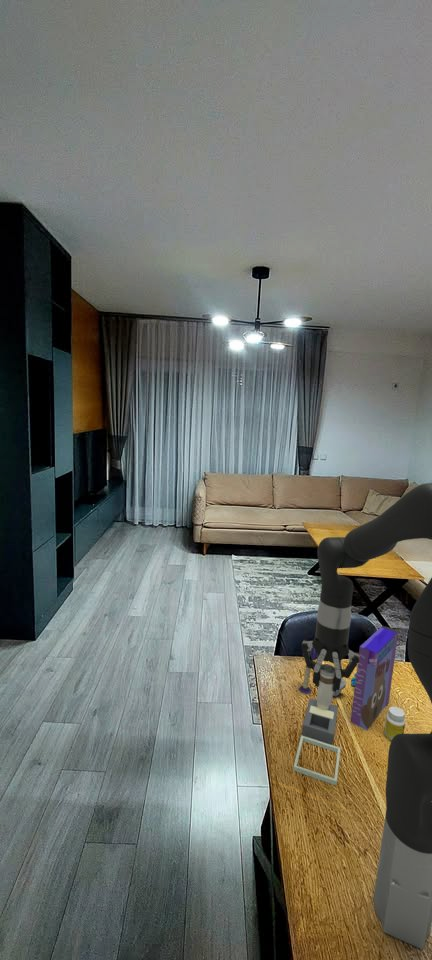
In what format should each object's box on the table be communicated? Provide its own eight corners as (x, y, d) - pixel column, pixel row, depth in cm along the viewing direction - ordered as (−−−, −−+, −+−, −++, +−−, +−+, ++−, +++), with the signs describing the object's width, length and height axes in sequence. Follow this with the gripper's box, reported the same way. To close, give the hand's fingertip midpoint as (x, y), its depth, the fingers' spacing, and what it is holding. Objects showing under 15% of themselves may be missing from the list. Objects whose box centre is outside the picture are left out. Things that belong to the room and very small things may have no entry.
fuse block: (332, 748, 110) (336, 715, 108) (301, 738, 113) (305, 706, 111) (336, 718, 121) (340, 688, 119) (308, 710, 124) (311, 680, 122)
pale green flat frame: (335, 789, 97) (336, 781, 97) (292, 773, 101) (293, 766, 101) (339, 754, 108) (340, 747, 107) (300, 742, 111) (301, 735, 111)
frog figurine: (342, 705, 127) (345, 683, 126) (319, 696, 130) (321, 676, 129) (346, 693, 132) (348, 673, 131) (323, 686, 136) (326, 666, 135)
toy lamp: (313, 690, 133) (319, 641, 131) (313, 699, 128) (318, 649, 126) (298, 687, 134) (303, 638, 132) (297, 696, 130) (302, 646, 127)
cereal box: (366, 734, 116) (377, 653, 112) (350, 725, 119) (359, 646, 115) (388, 704, 129) (398, 630, 125) (372, 696, 132) (382, 625, 128)
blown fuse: (331, 707, 99) (335, 674, 98) (315, 703, 101) (319, 670, 99) (332, 698, 103) (336, 666, 102) (317, 694, 104) (321, 662, 103)
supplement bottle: (404, 747, 112) (408, 719, 110) (385, 744, 112) (389, 715, 111) (400, 734, 116) (404, 707, 115) (382, 731, 117) (385, 703, 116)
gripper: (300, 619, 98) (293, 687, 100) (364, 634, 93) (356, 705, 95) (305, 607, 105) (299, 671, 107) (365, 620, 100) (357, 686, 102)
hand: (326, 687), depth 101 cm, fingers closed on blown fuse, 3 cm apart
